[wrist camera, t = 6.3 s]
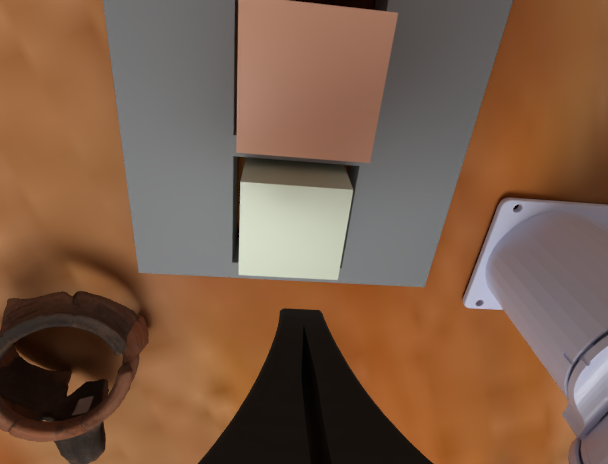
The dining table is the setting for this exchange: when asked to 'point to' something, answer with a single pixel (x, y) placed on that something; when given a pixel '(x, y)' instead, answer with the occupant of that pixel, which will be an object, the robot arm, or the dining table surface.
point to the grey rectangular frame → (224, 160)
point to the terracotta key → (310, 78)
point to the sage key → (293, 218)
